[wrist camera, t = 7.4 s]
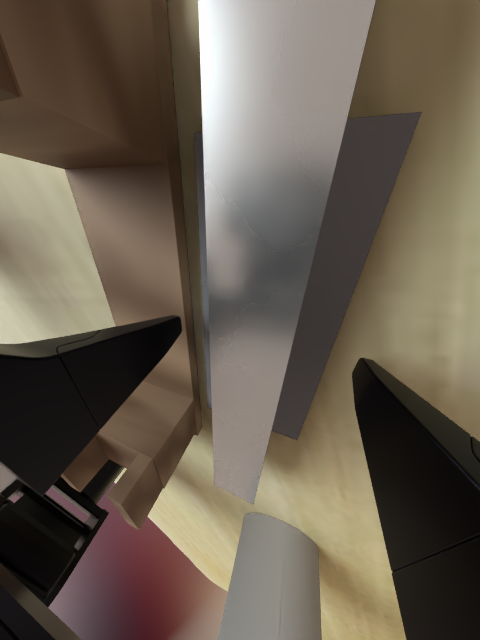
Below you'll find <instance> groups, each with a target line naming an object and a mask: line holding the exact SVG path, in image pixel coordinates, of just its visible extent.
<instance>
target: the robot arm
mask: <svg viewBox="0 0 480 640" xmlns="http://www.w3.org/2000/svg"><path fill="white" fill-rule="evenodd" d="M181 332H182V324H181V318H180V317H179V316H175V315H171V316H166V317H161V318H156V319H151V320H146V321H141V322H136V323H131V324H126V325H121V326H116V327H112V328H107V329H102V330H97V331H92V332H86V333H81V334H76V335H70V336H65V337H59V338H53V339H47V340H41V341H35V342H29V343H22V344H0V640H82V639H81V638H79V636H77V635H76V634H75V633H74V632H73V631H72V630H71V629H70V628H69V627H68V626H67V625H66V624H65V623H64V622H63V621H61V620H60V619H59V618H58V617H57V616H56V615H55V614H54V613H53V612H52V611H51V610H50V609H49V608H48V607H49V605H50V604H51V603H52V601H53V600H54V599H55V597H56V596H57V594H58V593H59V591H60V590H61V588H62V587H63V585H64V584H65V582H66V581H67V579H68V578H69V576H70V575H71V573H72V571H73V570H74V568H75V567H76V565H77V563H78V562H79V560H80V558H81V557H82V555H83V554H84V552H85V550H86V549H87V547H88V546H89V544H90V543H91V541H92V539H93V538H94V536H95V534H96V533H97V531H98V530H99V528H100V527H101V525H102V523H103V522H104V520H105V519H106V517H107V515H108V514H109V512H108V511H106V510H105V509H101V508H100V507H99V506H97V505H96V504H97V503H98V501H99V500H100V498H101V497H102V496H103V495H104V493H105V492H106V491H107V490H108V488H109V487H110V486H111V484H112V483H113V482H114V481H115V479H116V478H117V477H118V475H119V474H120V473H121V471H122V470H123V469H124V468H125V467H123V466H121V465H119V464H117V463H116V462H114V461H112V460H110V459H109V460H108V461H107V462H106V463H105V464H104V465H103V467H102V468H101V469H100V470H99V471H98V472H97V474H96V475H95V476H94V477H93V478H92V479H91V481H90V482H89V483H88V484H87V485H86V486H85V488H84V489H83V490H82V491H81V492H79V491H77V490H76V489H74V488H72V487H71V486H70V485H69V484H68V483H67V482H66V481H65V480H64V479H63V478H62V477H61V475H62V474H63V472H64V471H65V470H66V469H67V468H68V467H69V466H70V464H71V463H72V462H73V461H74V460H75V459H76V458H77V456H78V455H79V454H80V453H81V452H82V451H83V449H84V448H85V447H86V446H87V445H88V444H89V443H90V441H91V440H92V439H93V438H94V437H95V436H96V434H97V433H98V432H99V431H100V429H102V427H103V426H104V425H105V424H106V423H107V422H108V421H109V419H110V418H111V417H112V416H113V415H114V414H115V412H116V411H117V410H118V409H119V408H120V407H121V406H122V404H123V403H124V402H125V401H126V400H127V399H128V398H129V396H130V395H131V394H132V393H133V392H134V391H135V389H136V388H137V387H138V386H139V385H140V384H141V383H142V381H143V380H144V379H145V378H146V377H147V376H148V375H149V373H150V372H151V371H152V370H153V369H154V368H155V367H156V365H157V364H158V363H159V362H160V361H161V360H162V358H163V357H164V356H165V355H166V354H167V352H168V351H169V350H170V348H171V347H172V345H173V344H174V343H175V341H176V340H177V338H178V337H179V336H180V334H181ZM352 382H353V392H354V403H355V410H356V415H357V420H358V424H359V429H360V433H361V438H362V442H363V447H364V451H365V456H366V460H367V464H368V469H369V473H370V478H371V482H372V487H373V491H374V496H375V500H376V505H377V509H378V513H379V518H380V522H381V527H382V531H383V536H384V540H385V545H386V549H387V554H388V558H389V563H390V567H391V570H392V577H393V581H394V586H395V590H396V595H397V599H398V604H399V608H400V613H401V617H402V622H403V626H404V630H405V635H406V639H407V640H480V442H479V441H478V440H477V439H475V438H474V437H470V434H469V433H467V432H466V431H465V430H463V429H462V428H461V427H459V426H458V425H457V424H456V423H454V422H453V421H452V420H450V419H449V418H448V417H446V416H445V415H444V414H442V413H441V412H440V411H438V410H437V409H436V408H435V407H433V406H432V405H431V404H429V403H428V402H427V401H425V400H424V399H423V398H421V397H420V396H419V395H417V394H416V393H415V392H414V391H412V390H411V389H410V388H408V387H407V386H406V385H404V384H403V383H402V382H400V381H399V380H398V379H396V378H395V377H394V376H393V375H391V374H390V373H389V372H387V371H386V370H385V369H383V368H382V367H381V366H379V365H378V364H377V363H375V362H374V361H373V360H371V359H366V358H360V359H359V360H358V362H357V364H356V366H355V368H354V370H353V373H352ZM50 487H51V488H52V489H54V490H55V491H56V492H58V493H59V494H60V495H62V496H63V497H64V498H65V499H67V500H68V501H70V502H71V503H72V504H73V505H75V506H76V507H77V508H79V509H80V510H81V511H83V512H84V513H85V514H87V515H88V516H89V518H88V519H87V520H86V522H85V523H84V522H83V521H81V520H80V519H79V518H77V517H76V516H75V515H73V514H72V513H71V512H69V511H68V510H67V509H65V508H64V507H63V506H61V505H60V504H59V503H57V502H56V501H55V500H54V499H52V498H51V497H50V496H48V495H46V492H47V491H48V490H49V488H50ZM15 495H17V496H19V497H20V499H19V500H18V501H16V502H15V503H13V502H12V501H11V500H10V499H11V498H13V497H14V496H15Z"/></svg>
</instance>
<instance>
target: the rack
mask: <svg viewBox="0 0 480 640" xmlns="http://www.w3.org/2000/svg"><path fill="white" fill-rule="evenodd" d="M0 153H3V154H7V155H11V156H15V157H19V158H23V159H27V160H31V161H35V162H39V163H43V164H47V165H51V166H55V167H59V168H62V169H65V172H66V175H67V178H68V181H69V184H70V187H71V190H72V193H73V196H74V199H75V203H76V206H77V209H78V212H79V215H80V218H81V221H82V224H83V227H84V230H85V233H86V236H87V239H88V242H89V245H90V248H91V251H92V254H93V258H94V261H95V264H96V267H97V270H98V273H99V276H100V279H101V282H102V285H103V288H104V291H105V294H106V297H107V300H108V303H109V306H110V309H111V313H112V316H113V319H114V322H115V325H116V326H121V325H126V324H131V323H136V322H141V321H146V320H151V319H156V318H161V317H166V316H171V315H175V316H179V317H180V318H181V324H182V332H181V334H180V336H179V337H178V338H177V340H176V341H175V343H174V344H173V345H172V347H171V348H170V350H169V351H168V352H167V354H166V355H165V356H164V357H163V358H162V360H161V361H160V362H159V363H158V364H157V365H156V367H155V368H154V369H153V370H152V371H151V372H150V373H149V375H148V376H147V377H146V378H145V379H144V380H143V381H142V383H141V384H140V385H139V386H138V387H137V388H136V389H135V391H134V392H133V393H132V394H131V395H130V396H129V398H128V399H127V400H126V401H125V402H124V403H123V404H122V406H121V407H120V408H119V409H118V410H117V411H116V412H115V414H114V415H113V416H112V417H111V418H110V419H109V421H108V422H107V423H106V424H105V425H104V426H103V427H102V429H100V431H99V432H98V433H97V434H96V436H95V437H94V438H93V439H92V440H91V441H90V443H89V444H88V445H87V446H86V447H85V448H84V449H83V451H82V452H81V453H80V454H79V455H78V456H77V458H76V459H75V460H74V461H73V462H72V463H71V464H70V466H69V467H68V468H67V469H66V470H65V471H64V472H63V474H62V475H61V477H62V478H63V479H64V480H65V481H66V482H67V483H68V484H69V485H70V486H71V487H72V488H74V489H76V490H77V491H79V492H81V491H82V490H83V489H84V488H85V486H86V485H87V484H88V483H89V482H90V481H91V479H92V478H93V477H94V476H95V475H96V474H97V472H98V471H99V470H100V469H101V468H102V467H103V465H104V464H105V463H106V462H107V461H108V460H109V459H110V460H112V461H114V462H116V463H117V464H119V465H121V466H123V467H125V468H127V470H126V471H125V473H124V474H123V475H122V477H121V478H120V479H119V481H118V482H117V483H116V485H115V486H114V487H113V489H112V490H111V491H110V493H109V494H108V495H107V497H108V498H109V499H110V501H111V502H112V503H113V505H114V506H115V507H116V508H117V510H118V511H119V512H120V514H121V515H122V516H123V518H124V519H125V520H126V522H127V523H129V524H130V525H132V526H133V527H135V528H136V529H138V530H140V528H141V526H142V525H143V523H144V521H145V519H146V517H147V516H148V514H149V512H150V510H151V508H152V507H153V505H154V503H155V501H156V500H157V498H158V496H159V494H160V492H161V491H162V489H163V488H165V486H166V484H167V483H168V481H169V479H170V477H171V475H172V473H173V472H174V470H175V468H176V466H177V464H178V463H179V461H180V459H181V457H182V455H183V454H184V452H185V450H186V448H187V446H188V444H189V443H190V441H191V439H192V437H193V435H197V436H198V434H199V432H200V430H201V428H202V423H201V411H200V399H199V387H198V375H197V363H196V351H195V339H194V327H193V315H192V303H191V291H190V279H189V267H188V255H187V243H186V231H185V219H184V207H183V195H182V183H181V171H180V159H179V147H178V135H177V123H176V111H175V99H174V87H173V75H172V63H171V51H170V39H169V27H168V15H167V3H166V0H0Z"/></svg>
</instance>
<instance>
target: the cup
mask: <svg viewBox="0 0 480 640" xmlns="http://www.w3.org/2000/svg"><path fill="white" fill-rule="evenodd" d="M218 640H322V636H321V609H320V582H319V555H318V548H317V546H316V545H315V543H314V542H313V541H312V540H311V539H310V538H309V537H308V536H306V535H305V534H304V533H302V532H301V531H299V530H298V529H296V528H294V527H293V526H291V525H289V524H287V523H286V522H283V521H281V520H279V519H277V518H274V517H271V516H268V515H265V514H261V513H247V514H246V515H245V516H244V521H243V526H242V530H241V535H240V539H239V544H238V549H237V553H236V558H235V563H234V567H233V572H232V576H231V581H230V586H229V590H228V595H227V600H226V604H225V609H224V613H223V618H222V622H221V627H220V632H219V636H218Z"/></svg>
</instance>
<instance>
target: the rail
mask: <svg viewBox="0 0 480 640" xmlns="http://www.w3.org/2000/svg"><path fill="white" fill-rule="evenodd" d="M375 2H376V0H198V6H199V36H200V67H201V97H202V127H203V157H204V187H205V218H206V248H207V278H208V308H209V338H210V369H211V399H212V429H213V459H214V485H215V486H217V487H219V488H221V489H223V490H225V491H227V492H229V493H231V494H233V495H235V496H237V497H239V498H241V499H243V500H245V501H247V502H250V503H252V504H254V500H255V496H256V492H257V487H258V483H259V479H260V475H261V471H262V467H263V463H264V459H265V455H266V450H267V446H268V442H269V438H270V434H271V430H272V426H273V422H274V417H275V413H276V409H277V405H278V401H279V397H280V393H281V389H282V384H283V380H284V376H285V372H286V368H287V364H288V360H289V356H290V352H291V347H292V343H293V339H294V335H295V331H296V327H297V323H298V319H299V314H300V310H301V306H302V302H303V298H304V294H305V290H306V286H307V282H308V277H309V273H310V269H311V265H312V261H313V257H314V253H315V249H316V244H317V240H318V236H319V232H320V228H321V224H322V220H323V216H324V212H325V207H326V203H327V199H328V195H329V191H330V187H331V183H332V179H333V174H334V170H335V166H336V162H337V158H338V154H339V150H340V146H341V142H342V137H343V133H344V129H345V125H346V121H347V117H348V113H349V109H350V104H351V100H352V96H353V92H354V88H355V84H356V80H357V76H358V72H359V67H360V63H361V59H362V55H363V51H364V47H365V43H366V39H367V34H368V30H369V26H370V22H371V18H372V14H373V10H374V6H375Z"/></svg>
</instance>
